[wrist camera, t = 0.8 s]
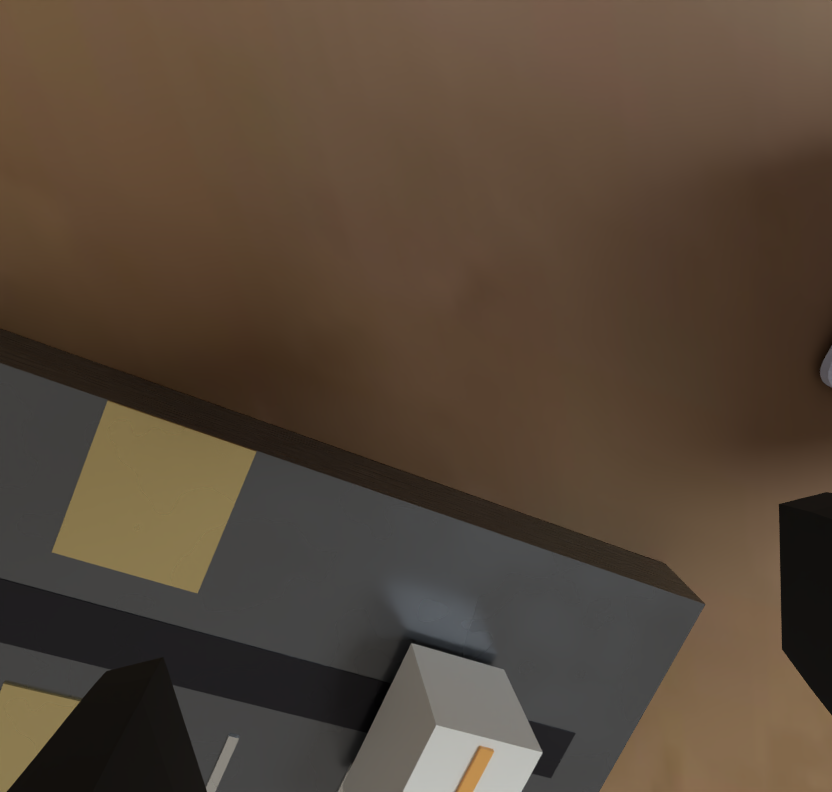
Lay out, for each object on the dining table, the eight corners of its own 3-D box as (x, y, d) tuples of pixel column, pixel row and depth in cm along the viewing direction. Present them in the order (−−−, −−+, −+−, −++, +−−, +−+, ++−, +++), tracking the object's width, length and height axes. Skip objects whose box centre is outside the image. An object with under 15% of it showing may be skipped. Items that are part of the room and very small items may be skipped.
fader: (503, 669, 18) (543, 755, 16) (433, 805, 19) (460, 908, 16) (411, 642, 18) (436, 728, 15) (342, 785, 18) (355, 889, 16)
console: (665, 564, 21) (706, 605, 19) (506, 854, 23) (528, 918, 21) (-100, 293, 16) (-151, 312, 14) (-222, 701, 18) (-282, 768, 16)
